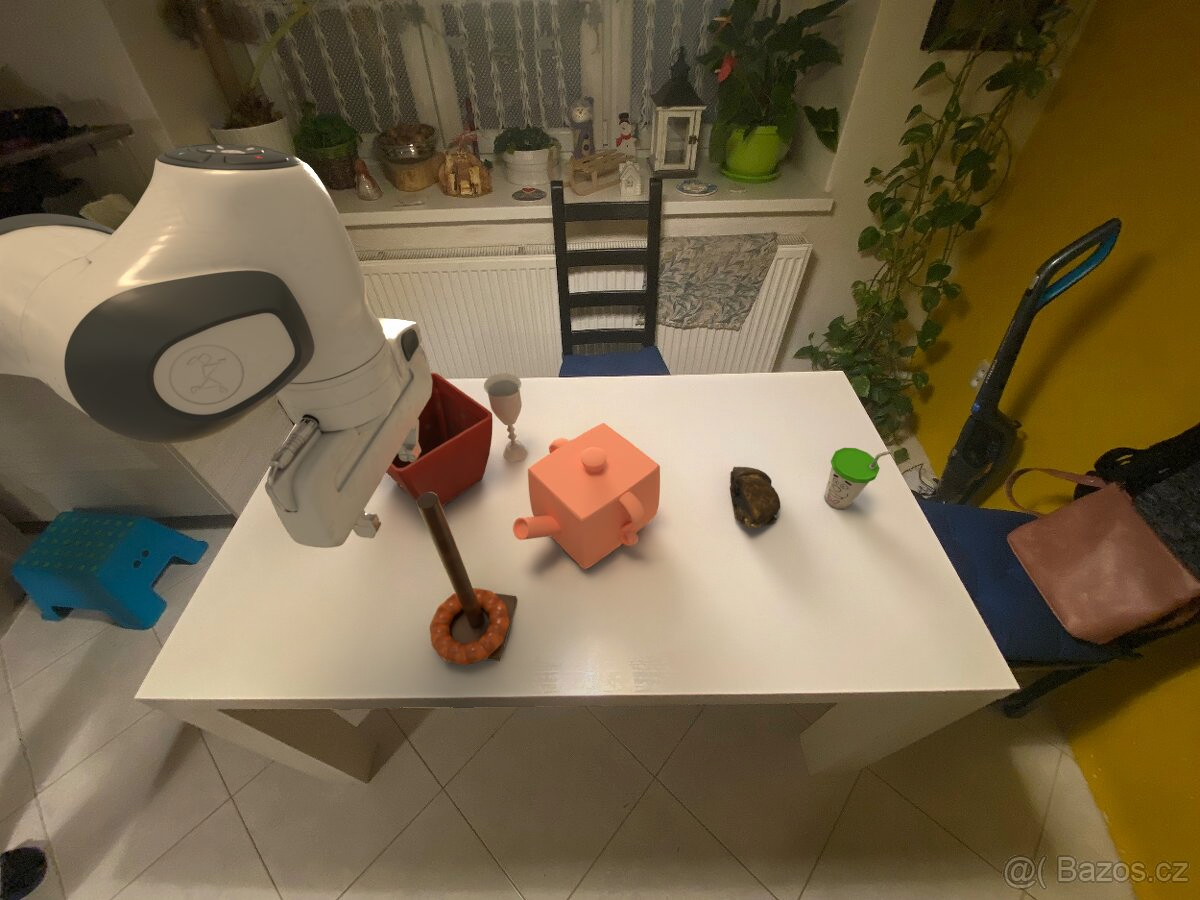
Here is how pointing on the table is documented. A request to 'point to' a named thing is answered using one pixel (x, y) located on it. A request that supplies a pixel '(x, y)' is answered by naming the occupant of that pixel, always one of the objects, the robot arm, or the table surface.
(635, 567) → the table surface
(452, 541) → the stand
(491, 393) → the chalice
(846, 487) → the cup
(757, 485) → the dark brown irregular lump
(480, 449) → the flower pot
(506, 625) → the ring
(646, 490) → the teapot
